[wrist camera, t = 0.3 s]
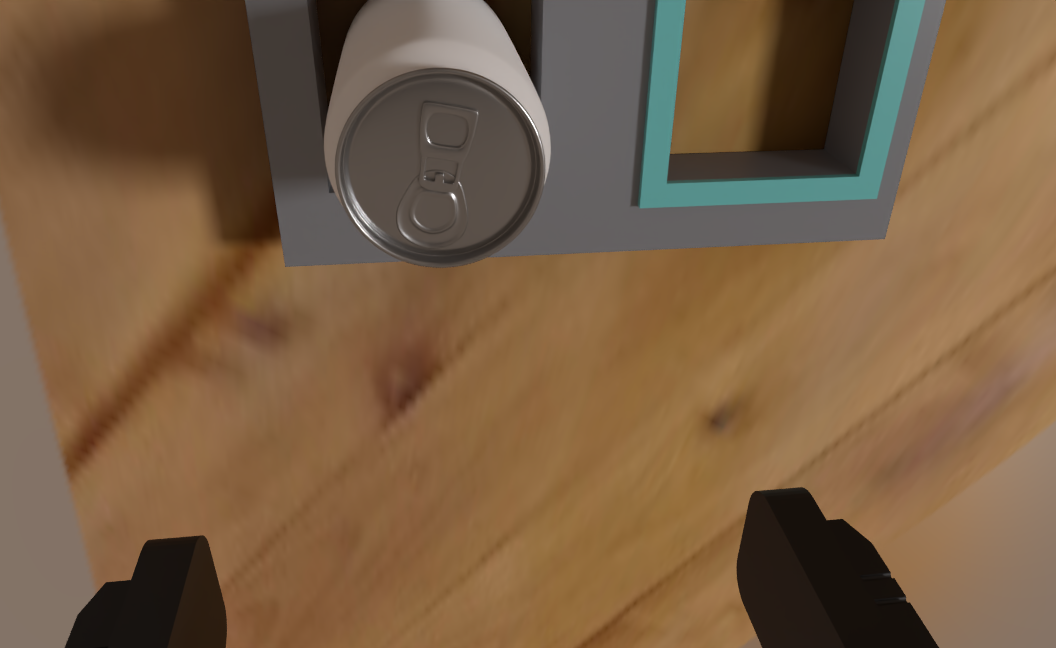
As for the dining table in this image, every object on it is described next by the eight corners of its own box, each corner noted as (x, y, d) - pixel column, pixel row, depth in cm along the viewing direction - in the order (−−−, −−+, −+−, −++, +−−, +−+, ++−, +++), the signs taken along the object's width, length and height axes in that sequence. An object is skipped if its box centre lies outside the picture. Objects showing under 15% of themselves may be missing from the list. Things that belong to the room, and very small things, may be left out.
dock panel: (239, -145, 28) (221, -141, 25) (932, -138, 31) (985, -133, 28) (293, 234, 35) (284, 270, 33) (852, 211, 38) (888, 241, 36)
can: (335, 130, 33) (307, 266, 23) (352, -43, 30) (329, 28, 20) (494, 155, 35) (534, 294, 25) (526, -8, 32) (586, 75, 22)
